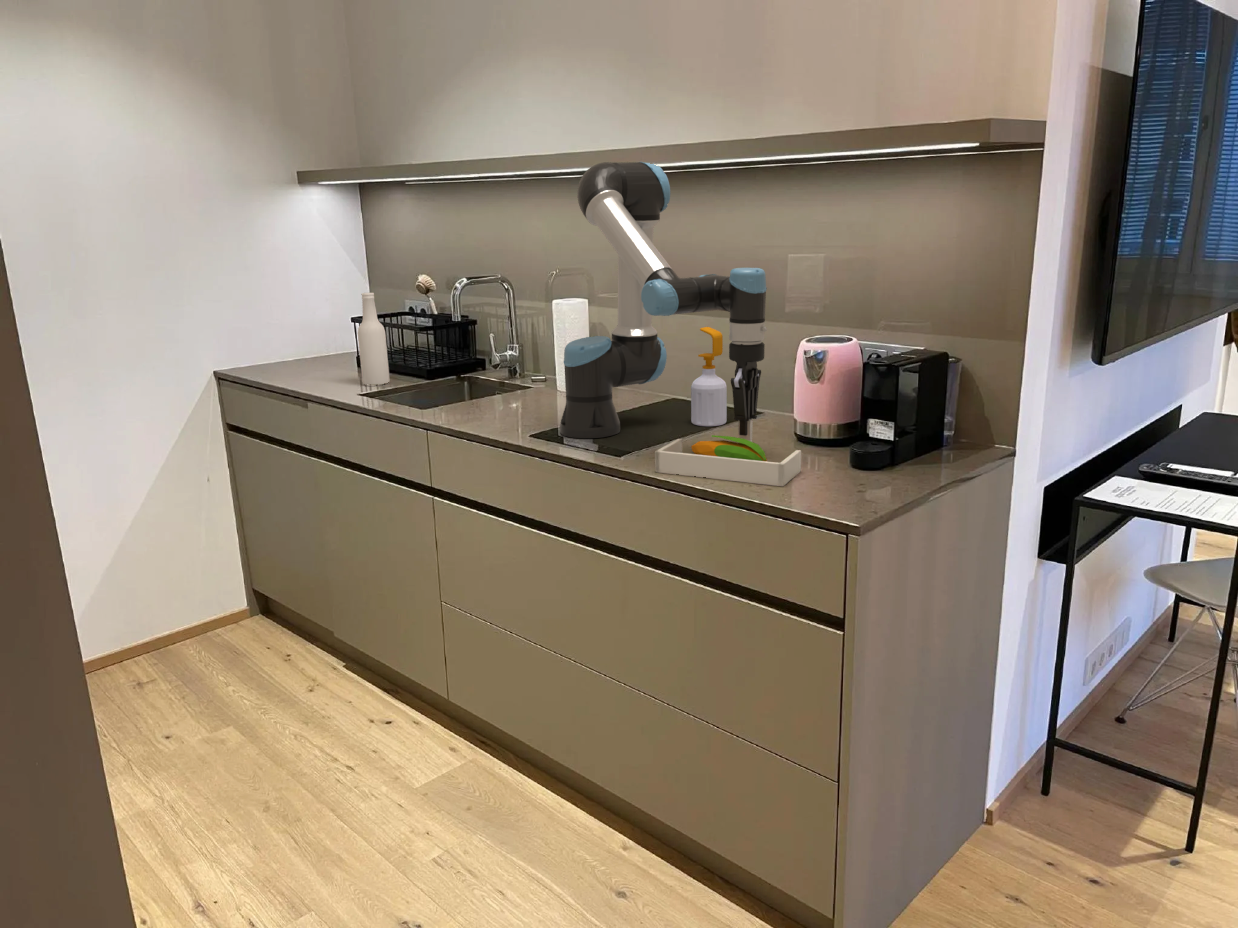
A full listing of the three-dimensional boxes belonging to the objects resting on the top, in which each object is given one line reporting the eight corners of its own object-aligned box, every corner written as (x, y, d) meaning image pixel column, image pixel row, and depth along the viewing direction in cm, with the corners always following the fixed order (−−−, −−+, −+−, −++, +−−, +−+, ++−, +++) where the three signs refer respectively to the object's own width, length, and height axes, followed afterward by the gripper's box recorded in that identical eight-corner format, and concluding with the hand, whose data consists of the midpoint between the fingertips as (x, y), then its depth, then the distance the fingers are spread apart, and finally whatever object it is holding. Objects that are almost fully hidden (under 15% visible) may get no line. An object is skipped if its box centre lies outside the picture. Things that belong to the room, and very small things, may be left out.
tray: (655, 472, 197) (654, 451, 196) (678, 458, 207) (677, 438, 206) (782, 486, 185) (783, 464, 183) (800, 471, 195) (801, 450, 194)
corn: (753, 445, 186) (679, 431, 200) (751, 482, 188) (678, 465, 202) (776, 441, 191) (702, 427, 205) (773, 477, 193) (700, 461, 207)
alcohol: (370, 381, 315) (361, 292, 307) (394, 382, 313) (386, 291, 305) (358, 386, 307) (348, 294, 299) (382, 386, 305) (374, 294, 297)
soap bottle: (704, 417, 247) (703, 324, 241) (733, 421, 241) (733, 326, 235) (684, 424, 240) (683, 328, 234) (713, 428, 235) (713, 331, 228)
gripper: (753, 347, 192) (751, 457, 198) (773, 338, 203) (770, 443, 209) (719, 345, 195) (718, 453, 202) (740, 336, 206) (739, 440, 213)
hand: (745, 448), depth 205 cm, fingers closed
